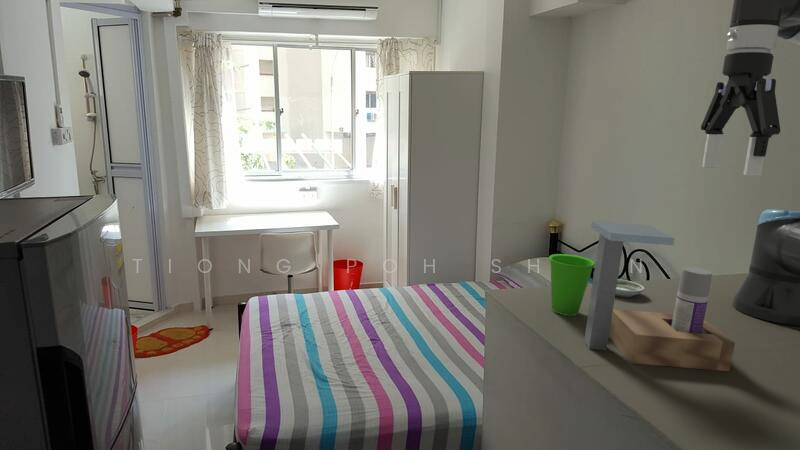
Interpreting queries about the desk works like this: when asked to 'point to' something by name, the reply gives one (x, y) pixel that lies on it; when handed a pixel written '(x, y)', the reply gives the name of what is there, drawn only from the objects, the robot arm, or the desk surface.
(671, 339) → the socket block
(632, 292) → the saucer
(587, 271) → the cup
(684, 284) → the container
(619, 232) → the grey flat-topped post
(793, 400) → the desk surface
